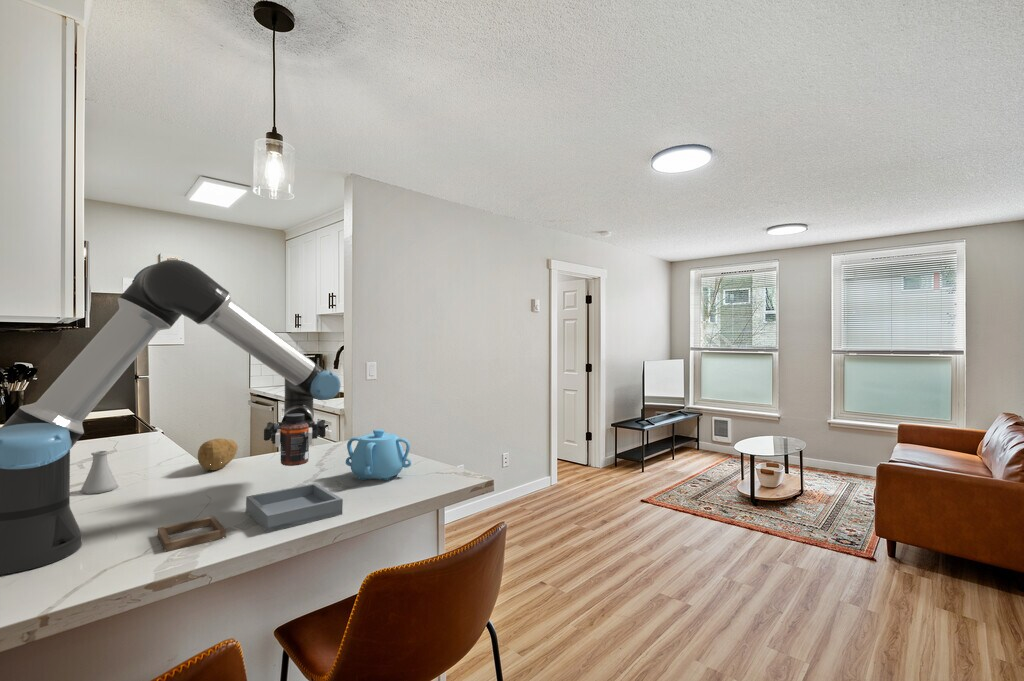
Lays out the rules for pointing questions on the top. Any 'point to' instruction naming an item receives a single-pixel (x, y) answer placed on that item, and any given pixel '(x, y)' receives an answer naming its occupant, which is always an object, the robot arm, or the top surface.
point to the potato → (216, 453)
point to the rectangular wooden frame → (191, 540)
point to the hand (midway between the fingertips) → (293, 439)
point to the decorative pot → (378, 455)
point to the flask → (99, 475)
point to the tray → (293, 506)
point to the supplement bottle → (294, 440)
